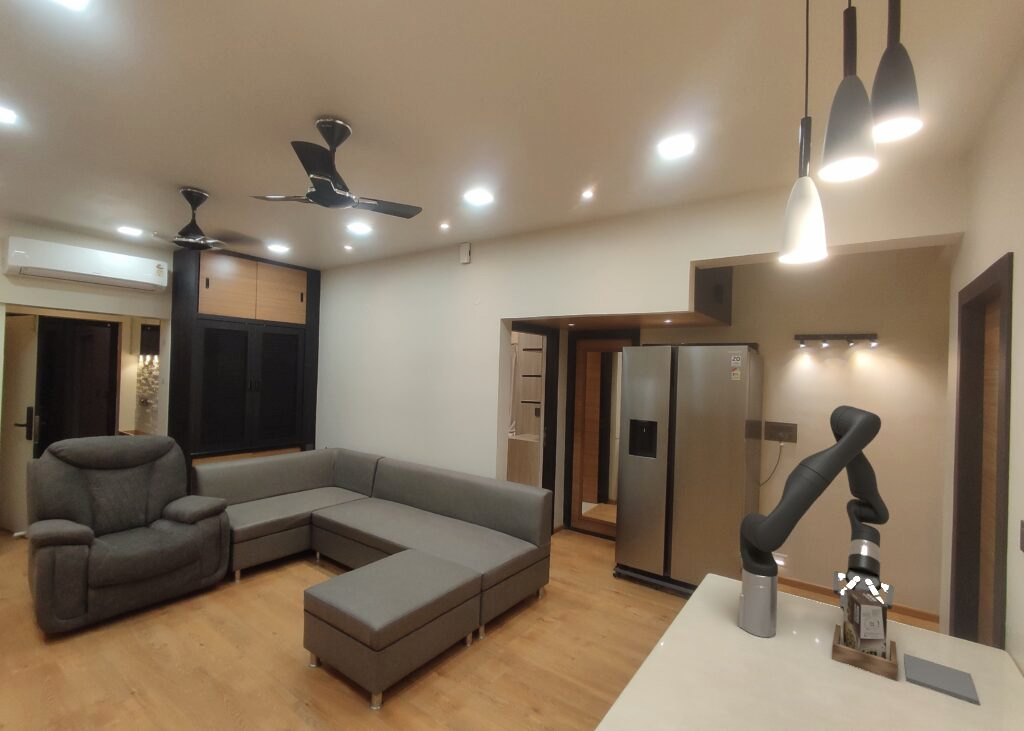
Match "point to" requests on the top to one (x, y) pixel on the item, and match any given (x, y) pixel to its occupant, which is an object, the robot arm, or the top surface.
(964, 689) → the charcoal mat
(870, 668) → the walnut holder
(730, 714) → the top surface
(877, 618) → the coffee box
